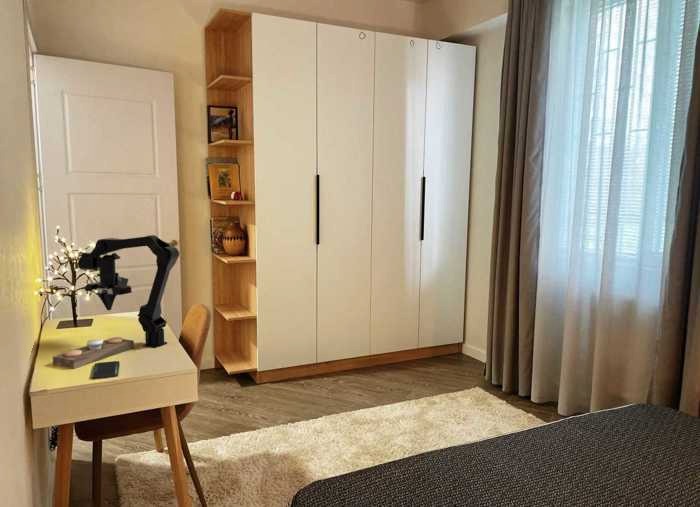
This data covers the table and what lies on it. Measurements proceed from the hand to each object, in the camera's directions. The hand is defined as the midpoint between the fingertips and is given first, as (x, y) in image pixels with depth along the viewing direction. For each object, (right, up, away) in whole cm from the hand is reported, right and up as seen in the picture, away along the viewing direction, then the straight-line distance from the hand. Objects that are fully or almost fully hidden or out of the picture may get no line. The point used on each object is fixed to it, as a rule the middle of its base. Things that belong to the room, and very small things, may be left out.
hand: (109, 310), depth 205 cm
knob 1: (-1, -16, -24) cm, 29 cm away
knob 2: (+6, -14, -8) cm, 17 cm away
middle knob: (+2, -13, -16) cm, 21 cm away
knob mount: (+2, -15, -16) cm, 22 cm away
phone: (+13, -17, -31) cm, 38 cm away
